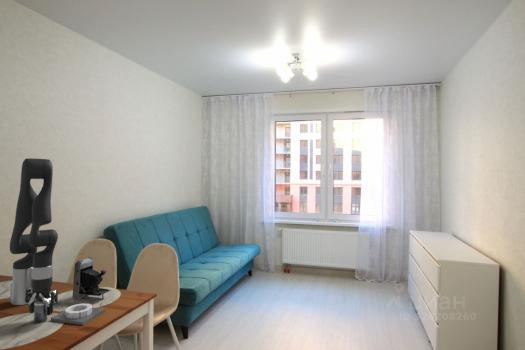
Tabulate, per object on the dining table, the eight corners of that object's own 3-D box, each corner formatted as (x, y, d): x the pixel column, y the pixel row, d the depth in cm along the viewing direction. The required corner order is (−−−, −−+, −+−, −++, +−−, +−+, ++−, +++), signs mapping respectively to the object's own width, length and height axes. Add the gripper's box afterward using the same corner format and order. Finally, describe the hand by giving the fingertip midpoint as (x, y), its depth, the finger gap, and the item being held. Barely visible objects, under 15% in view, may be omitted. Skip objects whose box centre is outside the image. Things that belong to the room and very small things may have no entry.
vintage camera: (98, 304, 161) (101, 264, 161) (71, 299, 164) (74, 260, 164) (110, 297, 170) (113, 259, 170) (85, 293, 173) (88, 256, 173)
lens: (30, 322, 138) (31, 301, 138) (40, 317, 143) (41, 297, 143) (40, 324, 137) (41, 302, 137) (50, 319, 142) (51, 298, 142)
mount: (50, 320, 140) (50, 312, 140) (74, 308, 154) (75, 300, 154) (82, 325, 137) (83, 316, 137) (104, 311, 151) (105, 304, 151)
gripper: (20, 277, 138) (19, 315, 138) (49, 280, 135) (47, 319, 135) (35, 272, 145) (34, 308, 145) (63, 274, 143) (62, 311, 142)
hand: (40, 313), depth 140 cm, fingers open, 8 cm apart
